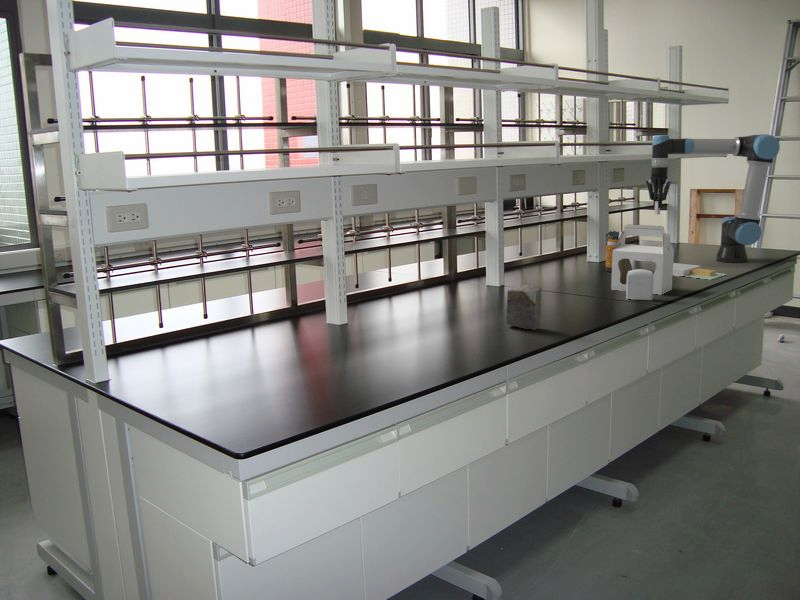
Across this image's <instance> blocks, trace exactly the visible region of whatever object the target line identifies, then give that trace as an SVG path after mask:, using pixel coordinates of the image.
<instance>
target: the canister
mask: <svg viewBox="0 0 800 600" xmlns="http://www.w3.org/2000/svg"><path fill="white" fill-rule="evenodd" d="M619 232H620V231H616V230H613V231H612V230H610V231H609V232H607V234H605V239H606V240H605V241H606V246H605V260H604V261H605V269H604V270H605V271H607V272H608V273H612V257H613V249H614V247H615V245H616V243H617V241H618V239H619Z"/></svg>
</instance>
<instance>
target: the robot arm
mask: <svg viewBox="0 0 800 600" xmlns="http://www.w3.org/2000/svg"><path fill="white" fill-rule="evenodd" d="M780 149H781V146H780V142H779V140H778V139H777V137H775V136H773V135H771V134H763V133H762V134H753V135H746V136H735V137H734V138H687V137H686V138H685V137H684V138H670V135H669V134H655V135H654V136H653V137H652V156H651V166H652V167H651V171H650V174H651V176H650V179H648V180H646V181H645V183H646V185H647V189H648V190H647V191H648V196H649V200H650V201H652V202H653V204H652V206H653V208H654V215H660V214H661V208H662V207H663V201H666V200H667V197H668V194H669V190H670V186H671V185H672V183H673V181H672V180H669V179H668V167H667V166H668V163H669V155H688V154H689V155H732V156H734V157H745V158H746V162H747V164H748V168H747V173H746V179H745V185H744V187H743V188H744V189H743V193H742V198H741V203H740V208H739V213H738V214H736V215H735V216H727V217H723V218H722V221H721V234H720V235H721V236H720V246H719V249H718V252H717V253H716V257H715V260H716V261H717V262H723V263H732V264H733V263H747V262H748V261H749V260H748V259H749V255H748V253H747V249H746V246H751V245H753V244H755V243H757V242H758V241H759V240H760V238H761V236H762V232H763V231H762V228H761V226H760V225H761V217H760V216H759V212H760V207H761V202H762V198H763V193H764V188H765V183H766V180H767V175H768V169H769V167H770V166H771V165H773V162H774V158H775V157H776V156H777V155H778V154H779V152H780Z"/></svg>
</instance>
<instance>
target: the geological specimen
mask: <svg viewBox="0 0 800 600" xmlns="http://www.w3.org/2000/svg"><path fill="white" fill-rule="evenodd" d="M541 301H542V286H541V287H540V286H539V285H531V284H527V285H525V284H522V285H516V286H512V287H510V288H508V289H507V293H506V320H505V322H506V323H505V325H507V326H510V327H511V326H512V327H513V326H514V327H517V328H519V329H521V328H523V329H522V330H528V329H531V330H533V331H536V330H537V329H539V327H540V326H541V317H542V316H541V315H542V314H541V313H542V312H541V311H542V310H541V308H542V307H541V306H542V304H541ZM531 330H530V331H531Z"/></svg>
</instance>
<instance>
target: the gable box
mask: <svg viewBox="0 0 800 600" xmlns="http://www.w3.org/2000/svg"><path fill="white" fill-rule="evenodd" d="M618 232H619V239H618V241H617V243H616V245H615V247H614V249H613V257H612V272H611V285H610V287H611V288H610V289H611V291H615V290H618V291H617V292H625V291H626V287H627V274H628V271H631V270H633V267H632V263H631V260H633V261H638V262H653V263H655V265H656V266H655V268H656V270H654V272H653V273H652V274H653V294H658V295H657V296H663V295H665V294H666V292H667V293H668V291H669V292H671V291H672V290H673V277H674V276H673V263H674V259H675V258H674V255H675V249H674V247H673V245H672V242H671V236H670V235H671V234H670V233H665V227H664V226H663V225H646V224H626V225H624V228H623V231H618ZM627 236H629V237H630V236H635V237H637V236H638V237H651V238H652V237H653V238H661V239H662V242H661V243H662V244H661V245H648V244H633V243H626V238H627ZM670 290H671V291H670ZM664 293H665V294H664ZM662 294H663V295H662Z"/></svg>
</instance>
